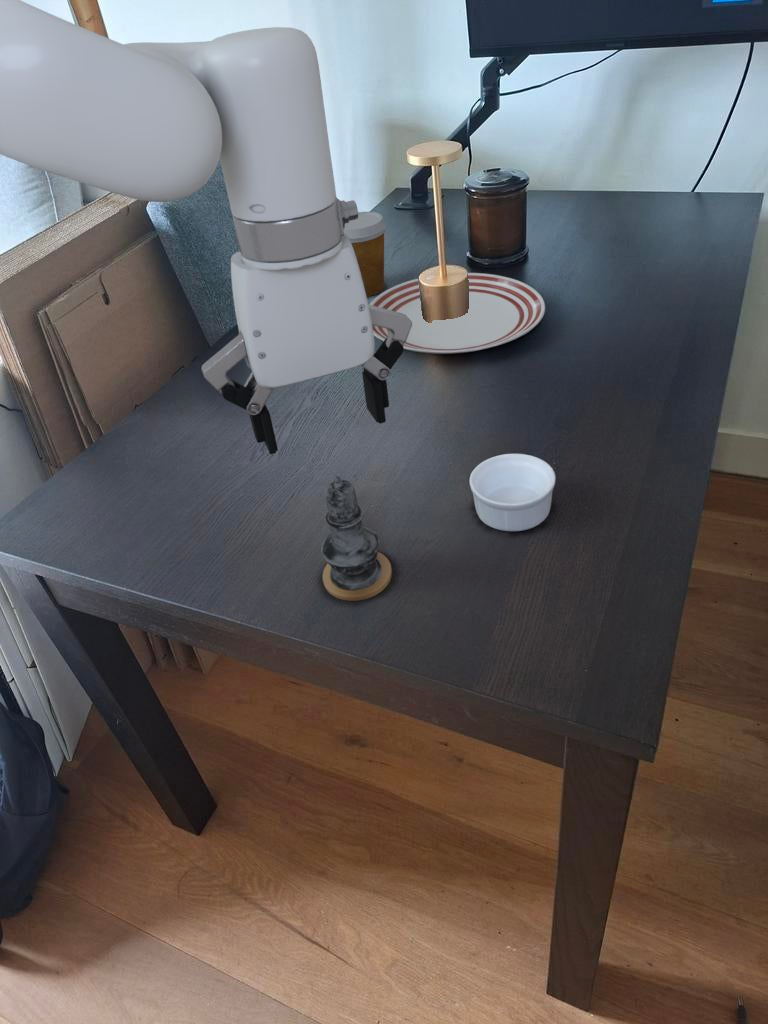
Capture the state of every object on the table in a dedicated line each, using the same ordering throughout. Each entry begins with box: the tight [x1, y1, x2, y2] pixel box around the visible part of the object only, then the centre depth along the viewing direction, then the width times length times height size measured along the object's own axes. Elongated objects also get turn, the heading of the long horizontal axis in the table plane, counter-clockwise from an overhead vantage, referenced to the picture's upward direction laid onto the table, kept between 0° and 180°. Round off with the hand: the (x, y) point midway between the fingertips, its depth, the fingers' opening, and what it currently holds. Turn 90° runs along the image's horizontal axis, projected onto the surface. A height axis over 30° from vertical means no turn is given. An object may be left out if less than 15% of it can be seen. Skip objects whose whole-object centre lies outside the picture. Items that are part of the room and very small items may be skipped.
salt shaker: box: [320, 475, 382, 591], centre depth 73 cm, size 6×6×12 cm
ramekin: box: [469, 453, 557, 532], centre depth 80 cm, size 9×9×4 cm
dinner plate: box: [369, 272, 546, 355], centre depth 117 cm, size 28×27×3 cm
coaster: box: [322, 551, 393, 602], centre depth 76 cm, size 7×7×1 cm
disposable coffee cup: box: [343, 211, 387, 297], centre depth 129 cm, size 10×10×12 cm
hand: (324, 430), depth 66 cm, fingers open, 9 cm apart
